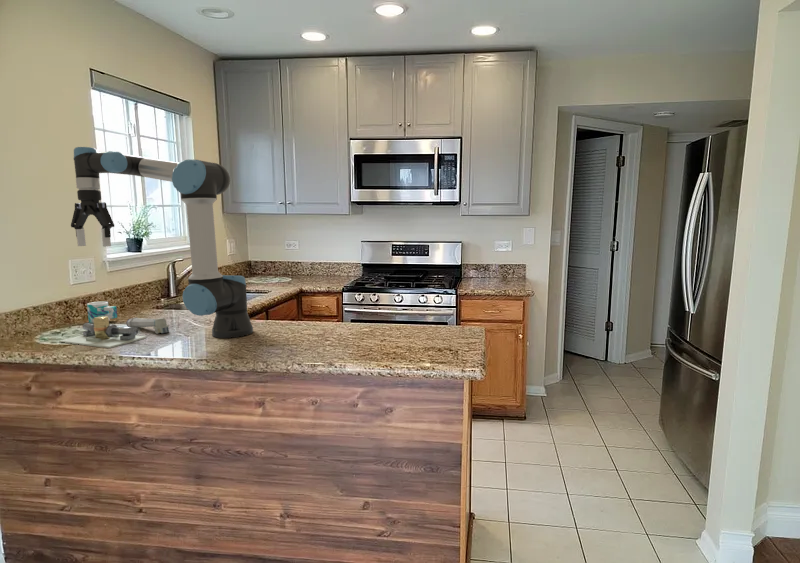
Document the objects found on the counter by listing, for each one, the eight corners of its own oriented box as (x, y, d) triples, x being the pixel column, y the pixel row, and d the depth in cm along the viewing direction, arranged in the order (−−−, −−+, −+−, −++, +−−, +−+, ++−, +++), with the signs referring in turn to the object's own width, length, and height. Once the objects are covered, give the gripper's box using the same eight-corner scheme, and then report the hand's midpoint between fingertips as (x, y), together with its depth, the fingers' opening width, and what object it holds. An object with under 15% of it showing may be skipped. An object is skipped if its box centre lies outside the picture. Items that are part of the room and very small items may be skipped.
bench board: (145, 338, 185) (145, 334, 185) (109, 348, 171) (109, 343, 171) (97, 333, 195) (96, 329, 194) (59, 342, 181) (58, 338, 181)
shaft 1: (105, 336, 187) (104, 322, 186) (92, 338, 183) (90, 324, 182) (94, 332, 193) (92, 319, 192) (80, 335, 189) (79, 321, 188)
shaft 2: (106, 340, 180) (105, 326, 180) (115, 337, 185) (114, 323, 184) (132, 340, 179) (131, 326, 178) (140, 337, 184) (139, 323, 183)
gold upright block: (104, 336, 186) (102, 315, 185) (113, 337, 184) (111, 316, 183) (91, 339, 182) (89, 318, 181) (100, 340, 180) (98, 319, 179)
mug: (98, 319, 223) (96, 301, 221) (122, 319, 221) (120, 301, 220) (84, 323, 215) (82, 304, 213) (108, 323, 213) (107, 304, 212)
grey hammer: (136, 316, 208) (170, 314, 194) (138, 332, 208) (172, 331, 194) (123, 319, 203) (157, 316, 190) (126, 334, 204) (160, 333, 190)
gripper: (121, 189, 183) (126, 245, 186) (75, 191, 192) (80, 245, 195) (103, 188, 176) (108, 247, 179) (56, 190, 185) (62, 246, 188)
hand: (94, 246), depth 187 cm, fingers open, 13 cm apart
